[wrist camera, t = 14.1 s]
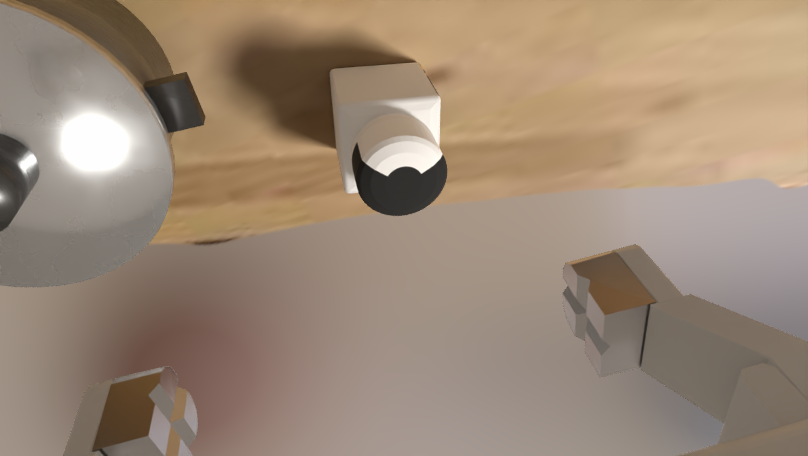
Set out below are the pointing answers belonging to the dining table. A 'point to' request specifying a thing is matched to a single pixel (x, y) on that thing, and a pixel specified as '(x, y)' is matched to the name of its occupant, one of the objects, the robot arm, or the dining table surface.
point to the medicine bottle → (388, 136)
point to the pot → (133, 55)
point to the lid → (73, 154)
